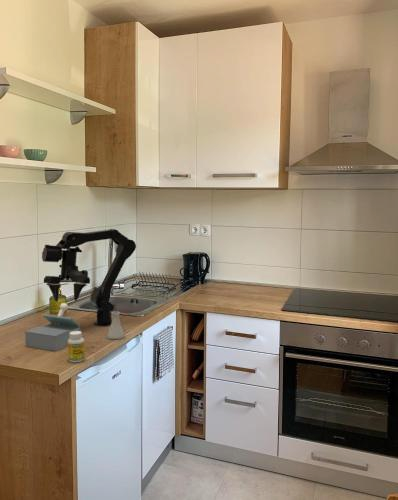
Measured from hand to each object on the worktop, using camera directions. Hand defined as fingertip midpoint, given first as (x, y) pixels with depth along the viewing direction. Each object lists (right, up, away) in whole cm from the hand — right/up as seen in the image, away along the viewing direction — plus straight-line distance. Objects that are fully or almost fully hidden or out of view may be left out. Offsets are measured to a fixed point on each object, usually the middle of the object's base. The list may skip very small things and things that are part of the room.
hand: (66, 301), depth 185 cm
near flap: (+1, -7, -10) cm, 12 cm away
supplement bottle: (+12, -17, -30) cm, 37 cm away
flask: (+22, -14, -6) cm, 26 cm away
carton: (-1, -14, -13) cm, 19 cm away
